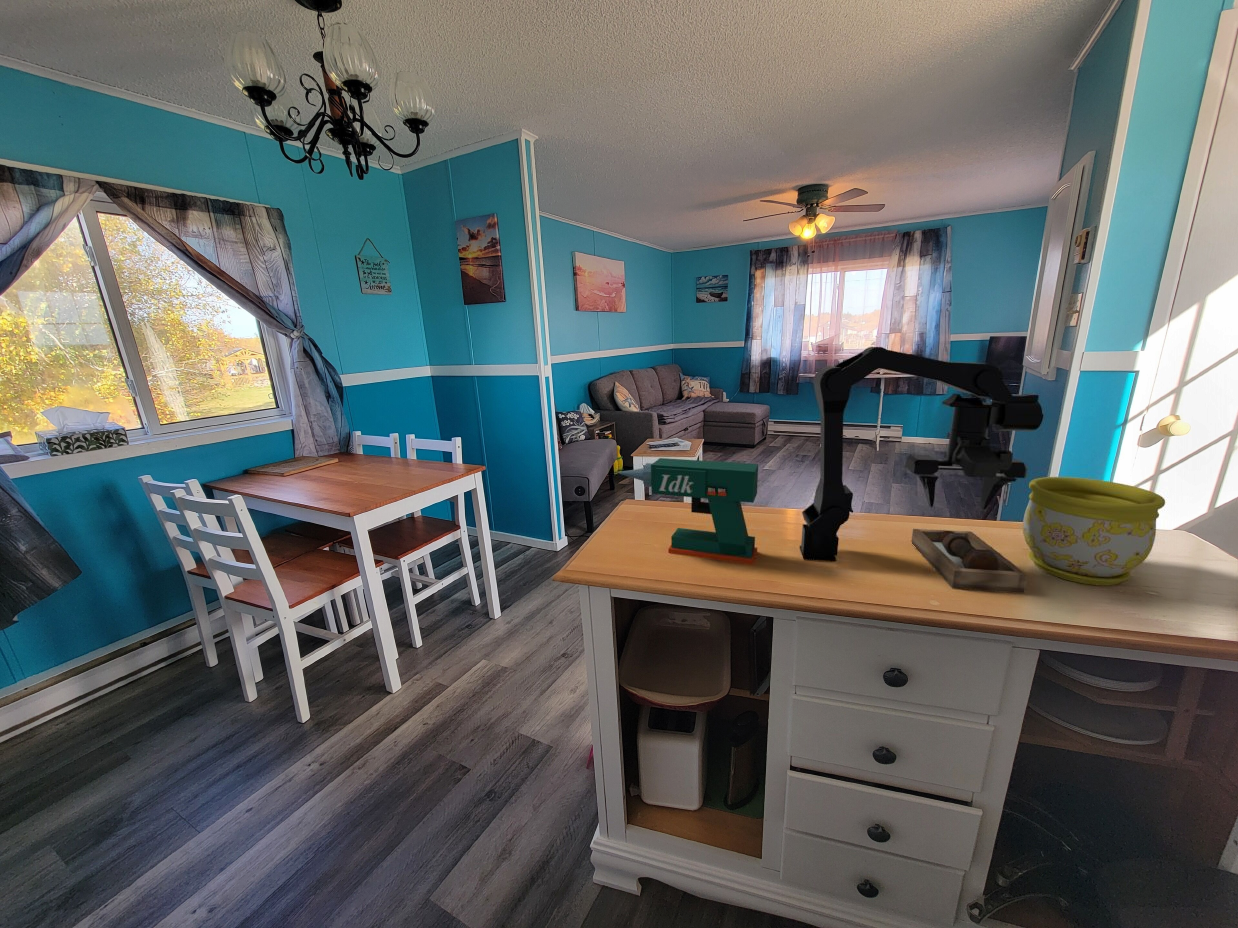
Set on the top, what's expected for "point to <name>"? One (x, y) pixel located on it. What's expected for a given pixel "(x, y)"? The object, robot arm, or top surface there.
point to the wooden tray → (955, 572)
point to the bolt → (968, 552)
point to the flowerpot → (1089, 528)
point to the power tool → (707, 504)
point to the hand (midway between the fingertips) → (956, 507)
